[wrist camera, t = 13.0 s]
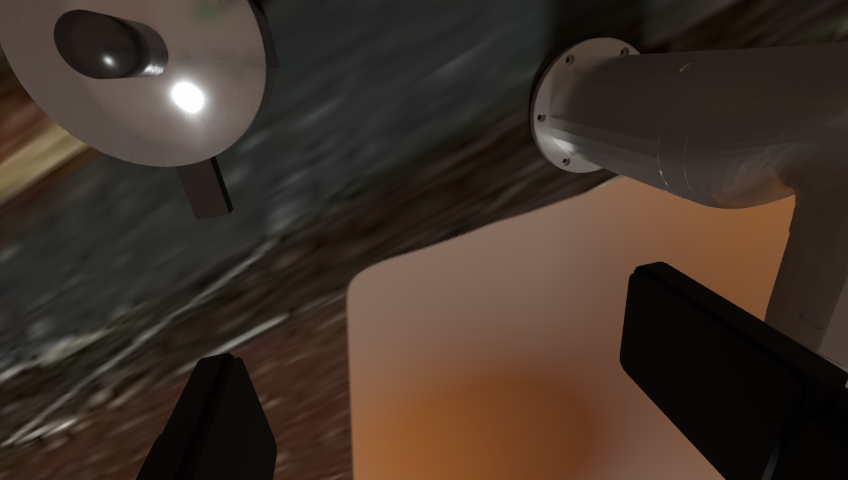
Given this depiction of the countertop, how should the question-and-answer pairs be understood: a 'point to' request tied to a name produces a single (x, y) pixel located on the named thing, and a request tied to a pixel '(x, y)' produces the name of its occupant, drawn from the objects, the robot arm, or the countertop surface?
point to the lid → (141, 72)
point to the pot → (205, 175)
